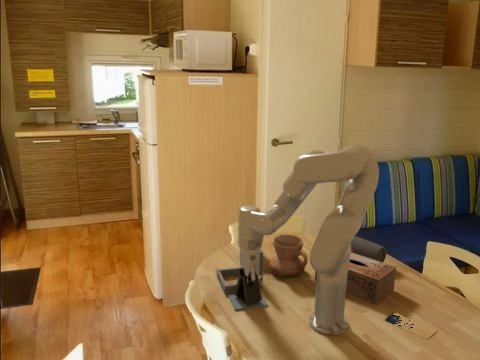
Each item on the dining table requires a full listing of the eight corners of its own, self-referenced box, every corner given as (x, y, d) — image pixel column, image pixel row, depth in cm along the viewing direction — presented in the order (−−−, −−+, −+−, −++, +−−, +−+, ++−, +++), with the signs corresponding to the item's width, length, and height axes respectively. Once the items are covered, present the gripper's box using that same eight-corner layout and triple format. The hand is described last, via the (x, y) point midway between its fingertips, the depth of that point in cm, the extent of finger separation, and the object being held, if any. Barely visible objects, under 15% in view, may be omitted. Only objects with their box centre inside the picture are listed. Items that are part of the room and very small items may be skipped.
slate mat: (268, 306, 159) (268, 304, 159) (234, 310, 156) (234, 309, 156) (259, 292, 168) (259, 291, 168) (228, 296, 165) (228, 294, 165)
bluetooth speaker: (328, 254, 202) (330, 233, 199) (341, 248, 208) (342, 228, 206) (373, 271, 186) (375, 249, 183) (385, 265, 192) (388, 243, 189)
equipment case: (263, 290, 170) (264, 253, 166) (225, 295, 166) (225, 257, 162) (251, 271, 185) (252, 237, 181) (216, 275, 181) (216, 240, 177)
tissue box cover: (393, 291, 171) (396, 266, 169) (375, 305, 161) (378, 280, 158) (334, 269, 188) (335, 247, 185) (314, 281, 178) (316, 258, 175)
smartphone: (427, 339, 141) (383, 319, 151) (427, 341, 141) (383, 321, 151) (438, 330, 146) (395, 311, 156) (438, 331, 146) (395, 312, 157)
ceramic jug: (259, 270, 186) (260, 238, 182) (282, 259, 196) (284, 229, 192) (293, 286, 173) (295, 253, 169) (316, 274, 183) (318, 242, 179)
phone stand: (262, 300, 160) (263, 269, 157) (248, 305, 157) (249, 274, 153) (247, 290, 167) (248, 260, 164) (233, 294, 164) (234, 264, 160)
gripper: (266, 249, 149) (265, 299, 154) (252, 232, 165) (251, 278, 169) (244, 252, 148) (243, 302, 152) (232, 233, 163) (232, 280, 168)
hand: (248, 289), depth 161 cm, fingers closed on phone stand, 2 cm apart
